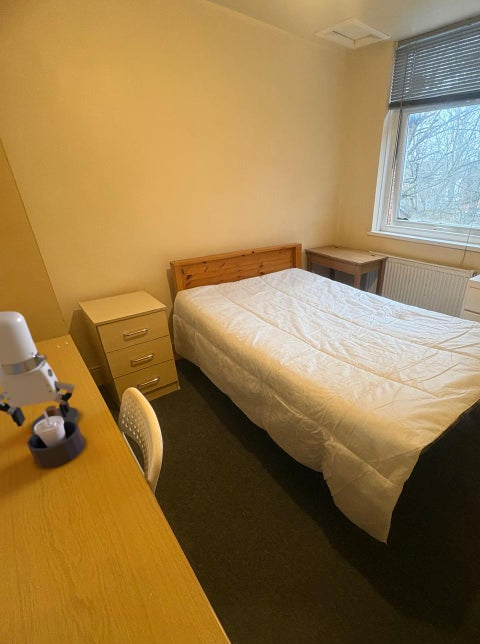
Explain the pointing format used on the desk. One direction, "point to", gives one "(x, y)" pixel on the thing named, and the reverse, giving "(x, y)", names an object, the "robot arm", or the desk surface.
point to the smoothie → (51, 430)
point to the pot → (57, 447)
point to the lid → (56, 412)
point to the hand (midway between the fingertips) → (44, 418)
